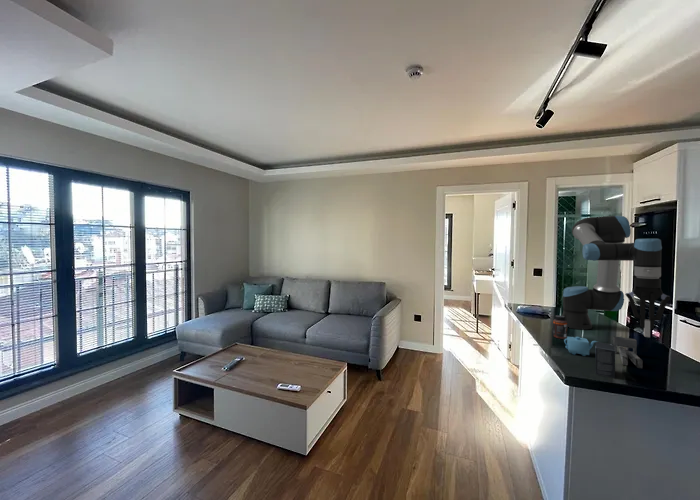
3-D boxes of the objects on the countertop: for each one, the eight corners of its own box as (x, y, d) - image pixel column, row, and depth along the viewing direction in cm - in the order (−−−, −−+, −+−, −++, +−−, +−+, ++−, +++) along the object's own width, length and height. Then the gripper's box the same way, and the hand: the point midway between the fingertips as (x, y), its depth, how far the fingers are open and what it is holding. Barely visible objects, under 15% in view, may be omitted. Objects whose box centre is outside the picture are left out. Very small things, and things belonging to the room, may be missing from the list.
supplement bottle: (569, 339, 152) (569, 317, 152) (556, 339, 153) (556, 317, 153) (563, 336, 158) (563, 314, 158) (551, 335, 159) (551, 314, 159)
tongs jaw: (628, 358, 127) (628, 350, 127) (633, 358, 126) (633, 351, 126) (637, 367, 117) (637, 359, 117) (642, 368, 116) (642, 360, 116)
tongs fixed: (619, 354, 132) (619, 346, 132) (627, 355, 130) (627, 348, 130) (622, 365, 120) (622, 357, 120) (632, 366, 118) (632, 358, 118)
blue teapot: (596, 353, 133) (596, 337, 132) (599, 358, 127) (599, 341, 127) (563, 349, 139) (563, 333, 138) (565, 353, 133) (564, 337, 133)
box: (595, 367, 118) (595, 341, 118) (614, 371, 115) (614, 344, 114) (595, 374, 112) (595, 346, 112) (615, 378, 109) (615, 350, 108)
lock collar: (613, 351, 135) (613, 336, 135) (635, 354, 130) (635, 339, 130) (614, 353, 132) (614, 338, 132) (636, 356, 128) (636, 341, 128)
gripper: (626, 277, 119) (625, 335, 120) (673, 279, 111) (672, 341, 112) (624, 275, 125) (623, 330, 125) (669, 277, 117) (668, 336, 117)
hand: (646, 336), depth 118 cm, fingers closed
